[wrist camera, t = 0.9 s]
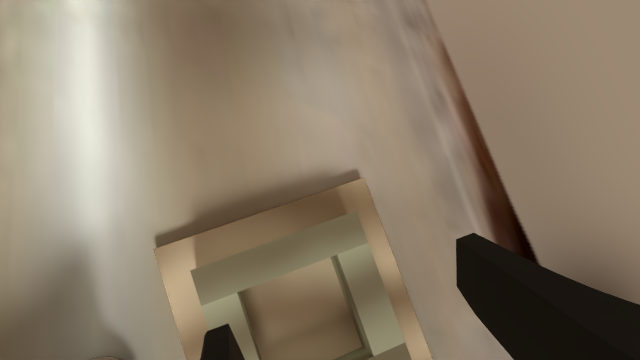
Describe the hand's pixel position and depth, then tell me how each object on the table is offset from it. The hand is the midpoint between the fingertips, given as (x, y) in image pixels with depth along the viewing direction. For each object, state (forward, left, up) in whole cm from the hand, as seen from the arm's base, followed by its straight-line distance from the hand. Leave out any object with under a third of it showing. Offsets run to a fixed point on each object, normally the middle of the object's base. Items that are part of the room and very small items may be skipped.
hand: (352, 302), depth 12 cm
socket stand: (-2, +1, -15) cm, 15 cm away
